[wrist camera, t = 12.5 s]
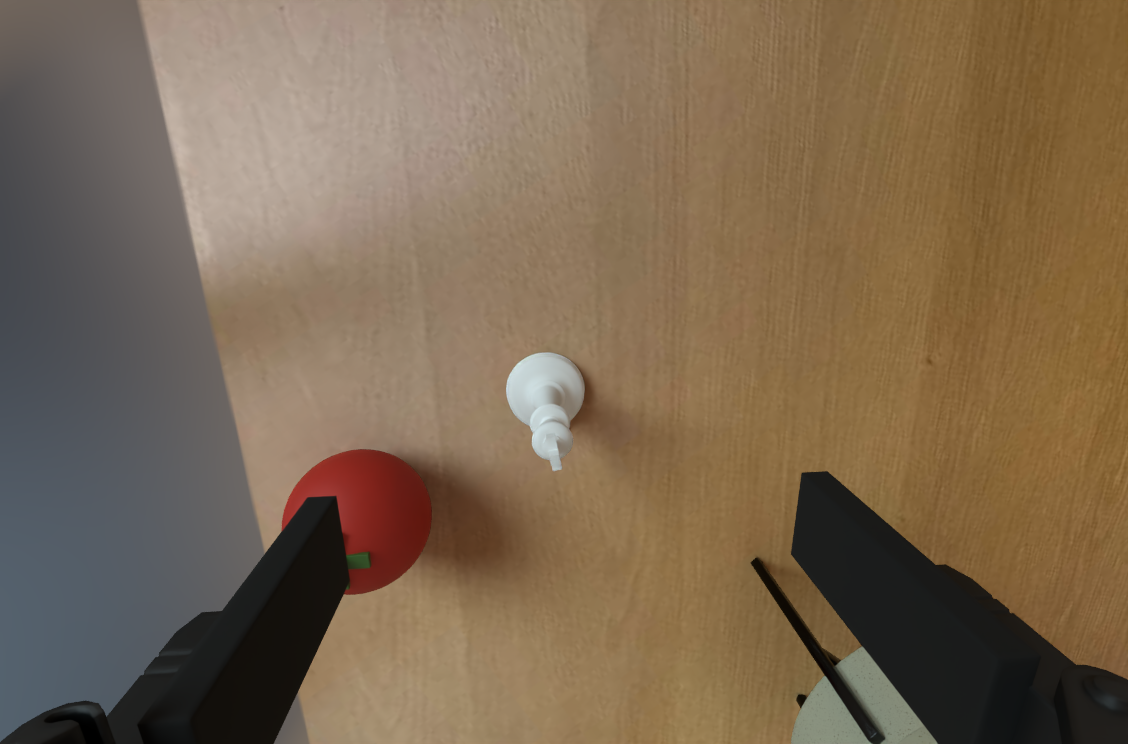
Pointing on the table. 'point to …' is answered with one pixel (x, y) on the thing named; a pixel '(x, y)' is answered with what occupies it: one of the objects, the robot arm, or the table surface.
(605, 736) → the table surface
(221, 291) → the table surface
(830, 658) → the planter
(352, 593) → the tomato
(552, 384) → the chess piece
